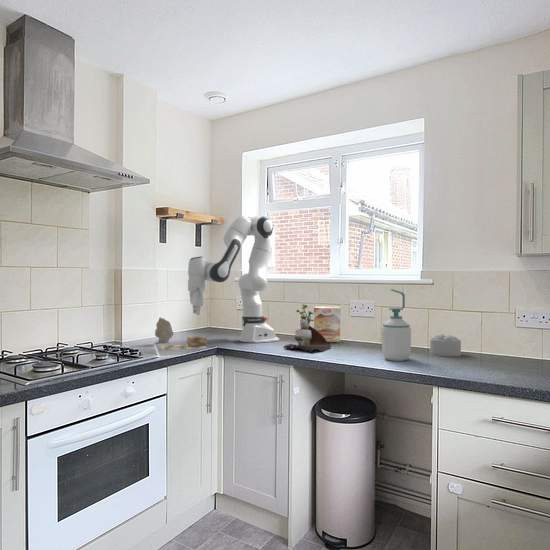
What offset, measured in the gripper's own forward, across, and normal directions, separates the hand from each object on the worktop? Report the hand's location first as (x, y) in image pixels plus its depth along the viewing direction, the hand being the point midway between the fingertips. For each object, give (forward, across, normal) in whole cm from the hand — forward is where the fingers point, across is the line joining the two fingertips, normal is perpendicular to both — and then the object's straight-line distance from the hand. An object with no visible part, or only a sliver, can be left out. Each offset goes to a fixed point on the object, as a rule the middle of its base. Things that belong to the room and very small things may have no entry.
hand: (196, 314), depth 221 cm
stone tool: (+18, +19, +15) cm, 30 cm away
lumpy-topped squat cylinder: (+17, -59, -108) cm, 124 cm away
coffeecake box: (+17, -2, -74) cm, 76 cm away
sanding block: (+17, 0, 0) cm, 17 cm away
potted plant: (+18, -22, -54) cm, 61 cm away
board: (+18, 0, +7) cm, 19 cm away
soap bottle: (+17, -61, -80) cm, 102 cm away
